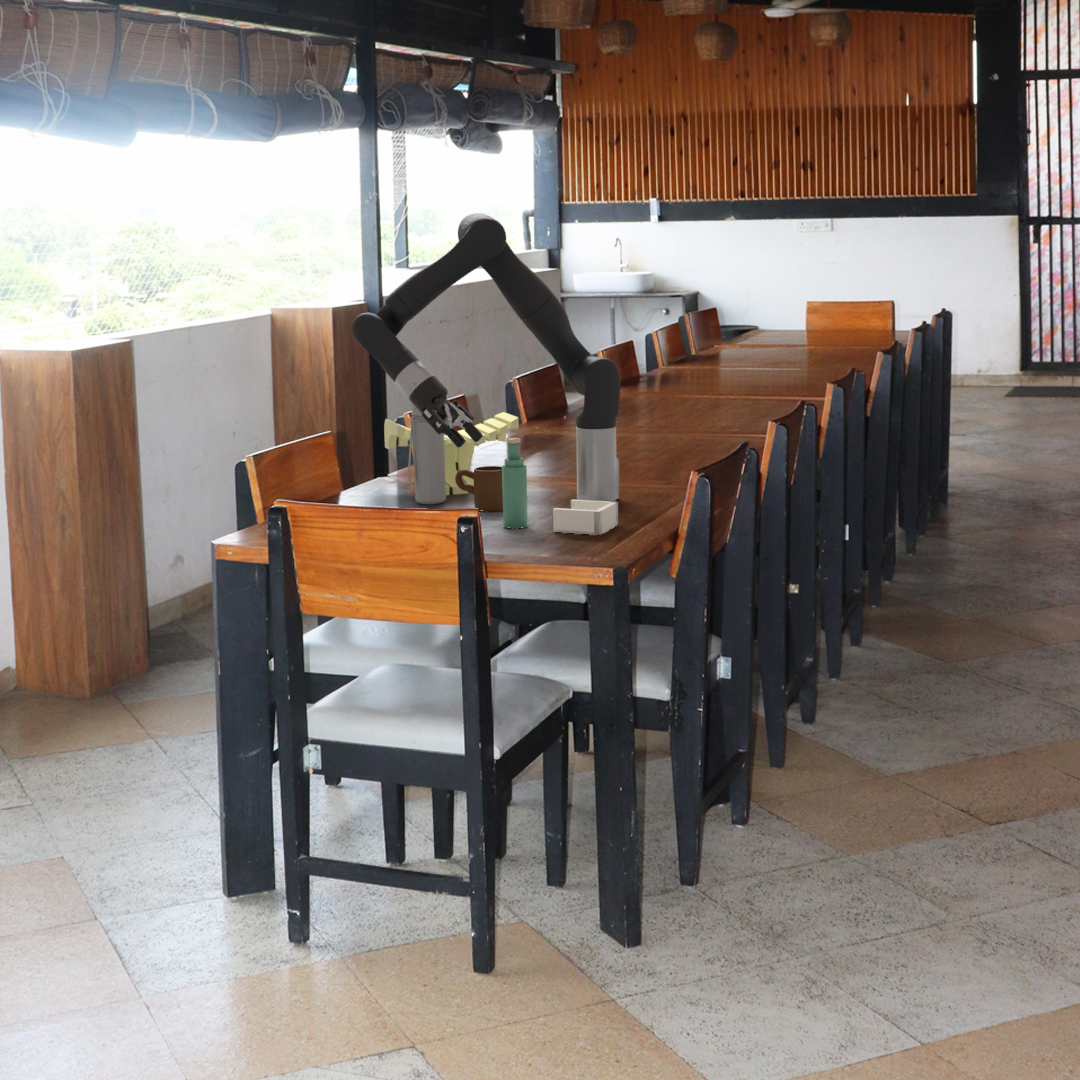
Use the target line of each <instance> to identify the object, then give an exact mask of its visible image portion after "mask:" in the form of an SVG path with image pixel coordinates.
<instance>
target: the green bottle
mask: <svg viewBox="0 0 1080 1080" xmlns="http://www.w3.org/2000/svg"><path fill="white" fill-rule="evenodd" d="M521 440H522V439H521V438H520V437H508V438H507V437H506V445H507V458H505V459H504V465H501V467H502V493H503V511H502V519H503V520H502V522H503V523H502V527H503V526H504V527H510V528H521V527H527V526H528V525H529V523H528V522H529V520H528V518H529V517H528V515H529V514H528V484H527V483H528V476H527V475H528V472H527V471H528V470H527V464H524V463H525V462H524V458H523V457H521ZM504 527H503V528H504ZM528 527H529V526H528ZM528 527H527V528H528Z"/></svg>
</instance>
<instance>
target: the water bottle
mask: <svg viewBox="0 0 1080 1080" xmlns="http://www.w3.org/2000/svg"><path fill="white" fill-rule="evenodd" d="M408 420H409V424H410V428H411V432H410V446H409V450H408V463H407V464H408V465H407V477H408V482H409V484H410V485H414V492H415V493H414V495H415V496H414V498H415V501H416V502H417V503H418V504H420V505H438V504H442V503H444V502H445V501H446V500H447V495H446V484H445V454H444V435H443V433H441V434H438V433H437V432H436V431H435V430H434V429H433V428H432V426H431V425H430V424H429V423H428V422H427V421H426V419H425V418H424V417H423V416H422V413H421V412H420V411H419V410H418V409H417V408H416V407H415V406H414V405H413V403H412V402H411V417H409V419H408ZM436 425H437V424H436ZM437 427H438V426H437ZM411 444H412V445H413V447H411ZM411 457H412V458H413V459H412V458H411ZM411 459H412V461H413V476H414V478H413V480H412V481H411Z"/></svg>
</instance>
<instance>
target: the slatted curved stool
mask: <svg viewBox="0 0 1080 1080" xmlns="http://www.w3.org/2000/svg"><path fill="white" fill-rule="evenodd" d="M519 421H520V420H519V416H516V415H514V414H510V413H507V412H505V411H503V412H499V413H497V414H495V415H494V416H493V418H492V417H490V418H489V419H486V420H483V423H480V422H479V423H477V424H475V425H474V426H475V427H476V428H477V429H478V430H479V431H480V432H481V433H482V435H483V437H482V438H481V439H480V440H479V441H478V442H475V441H474V440H473V439H472V438H471V437H470V436H469V435H468V434H467V433H466V432H465V430H464V429H460V430H457V431H458V432H459V433H460V434H461V436H462V437H463V438H464V439H465V443H464V444H463V445H462V446H461V447H457V446H456V445H455V444H454V443H453V442H452V441H451V440H450V438H449V437H448V436H447V435H446V436H445V435H444V454H445V484H446V496H450V495H464V494H465V495H467V494H471V493H470V492H468V491H464V490H462V489H460V488H459V487H458V486H457V484H456V481H455V476H456V474H457V472H458V471H460V470H462V469H468V470H470V471H471V467H470V464H471V460H472V458H473V455H474V453H475V446H476V447H479V446H480V445H482V444H485V443H486V441H487V442H495V441H498V442H503V443H507V434H508V433H509V431H508V430H519V428H520V425H519ZM383 427H384V428H383V430H384V431H383V432H384V433H383V434H384V448H385V449H387V450H391V449H395V448H397V446H398V447H399V448H400V447H408V446H409V447H410V432H411V427H406V426H404V425H402V424H400V423H396V422H394V421H392V420H390V419H388V418H385V420H384V425H383ZM411 448H413V445H412V444H411ZM462 480H463V482H464V483H465V484H471V485H473V486H474V480H473V479H472V478H469V477H467V476H462Z"/></svg>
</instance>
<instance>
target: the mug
mask: <svg viewBox="0 0 1080 1080" xmlns="http://www.w3.org/2000/svg"><path fill="white" fill-rule="evenodd" d="M462 476H467V477H469V478H472V479H473V480H474V486H473V485H471V484H465V483H464V482H463V480H462ZM455 481H456V484H457V486H458V487H459V488H460V489H462V490H464V491H468V492H470V493H469V494H471V495H473V498H474V499H473V501H474V508H478V509H479V510H483V511H498V512H502V511H501V510H503V493H502V466H499V465H487V466H486V465H485V466H479V467H475V468H473V471H472V470H471V469H470V470H468V469H462V470H460V471H458V472H457V474H456V476H455Z"/></svg>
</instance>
